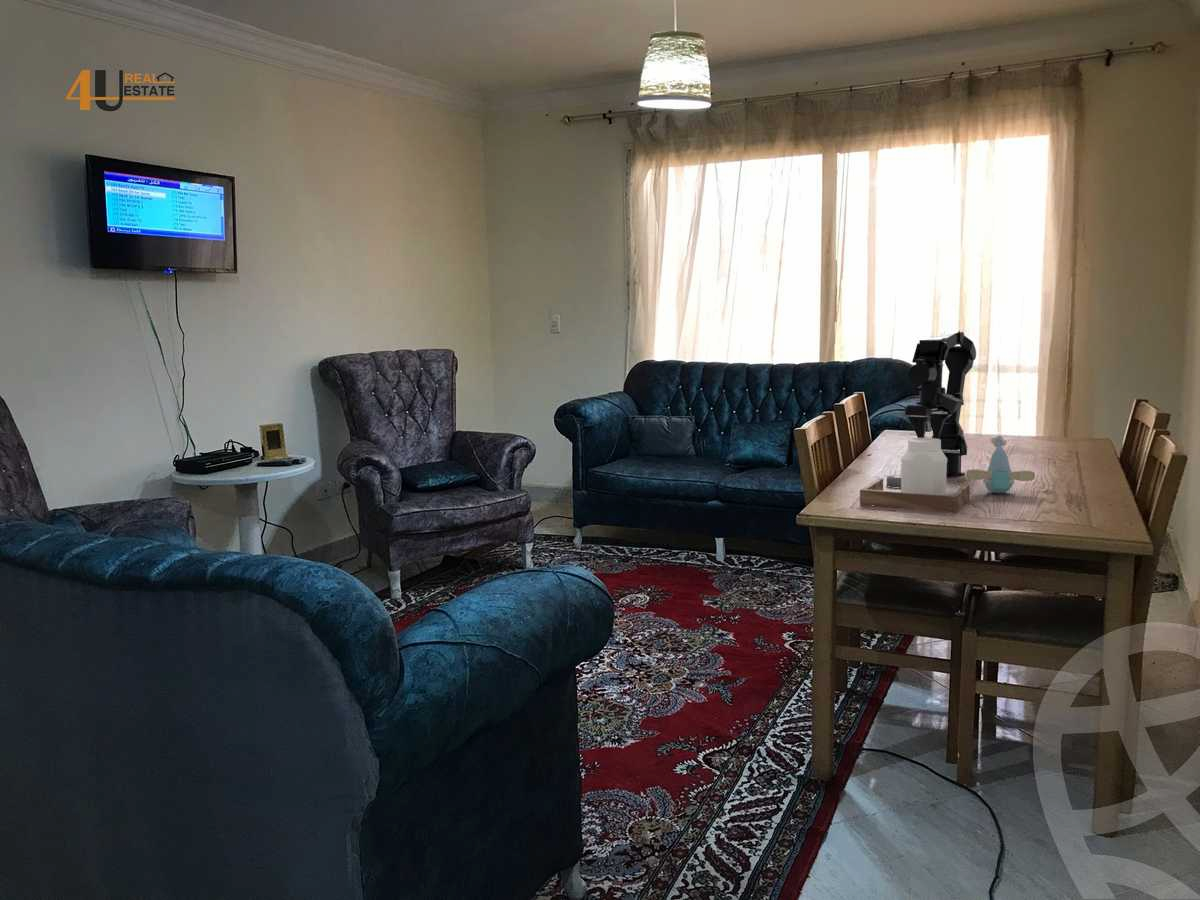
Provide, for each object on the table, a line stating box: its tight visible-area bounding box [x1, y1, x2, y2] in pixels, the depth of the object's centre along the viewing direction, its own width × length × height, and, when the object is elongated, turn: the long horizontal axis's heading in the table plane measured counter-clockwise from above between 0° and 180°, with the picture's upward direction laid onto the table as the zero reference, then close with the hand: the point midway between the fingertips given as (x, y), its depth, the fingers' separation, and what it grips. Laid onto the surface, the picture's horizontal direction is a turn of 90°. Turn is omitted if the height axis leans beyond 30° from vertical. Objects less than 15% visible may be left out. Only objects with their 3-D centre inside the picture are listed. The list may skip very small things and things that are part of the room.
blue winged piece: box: [965, 434, 1036, 494], centre depth 251 cm, size 17×10×15 cm, turn 71°
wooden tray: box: [859, 477, 971, 514], centre depth 244 cm, size 18×23×4 cm
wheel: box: [886, 474, 901, 488], centre depth 266 cm, size 6×6×3 cm
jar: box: [900, 437, 947, 495], centre depth 251 cm, size 12×10×15 cm
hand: (929, 439), depth 263 cm, fingers open, 9 cm apart
